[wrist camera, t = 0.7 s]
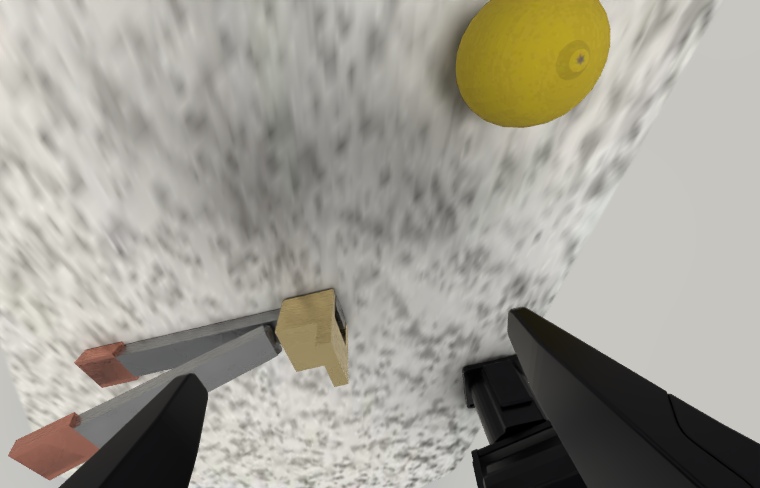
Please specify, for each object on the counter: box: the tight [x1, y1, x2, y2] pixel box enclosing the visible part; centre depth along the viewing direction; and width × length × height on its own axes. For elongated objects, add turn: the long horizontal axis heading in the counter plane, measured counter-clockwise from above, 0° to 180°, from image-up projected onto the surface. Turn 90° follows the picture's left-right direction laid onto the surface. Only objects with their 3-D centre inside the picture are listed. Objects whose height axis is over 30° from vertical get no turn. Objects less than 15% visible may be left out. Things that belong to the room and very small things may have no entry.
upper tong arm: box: [8, 325, 282, 480], centre depth 21 cm, size 15×3×1 cm, turn 102°
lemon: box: [455, 0, 610, 128], centre depth 14 cm, size 6×6×8 cm
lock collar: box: [275, 289, 348, 387], centre depth 23 cm, size 4×4×5 cm
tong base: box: [74, 296, 345, 388], centre depth 25 cm, size 20×3×1 cm, turn 102°
